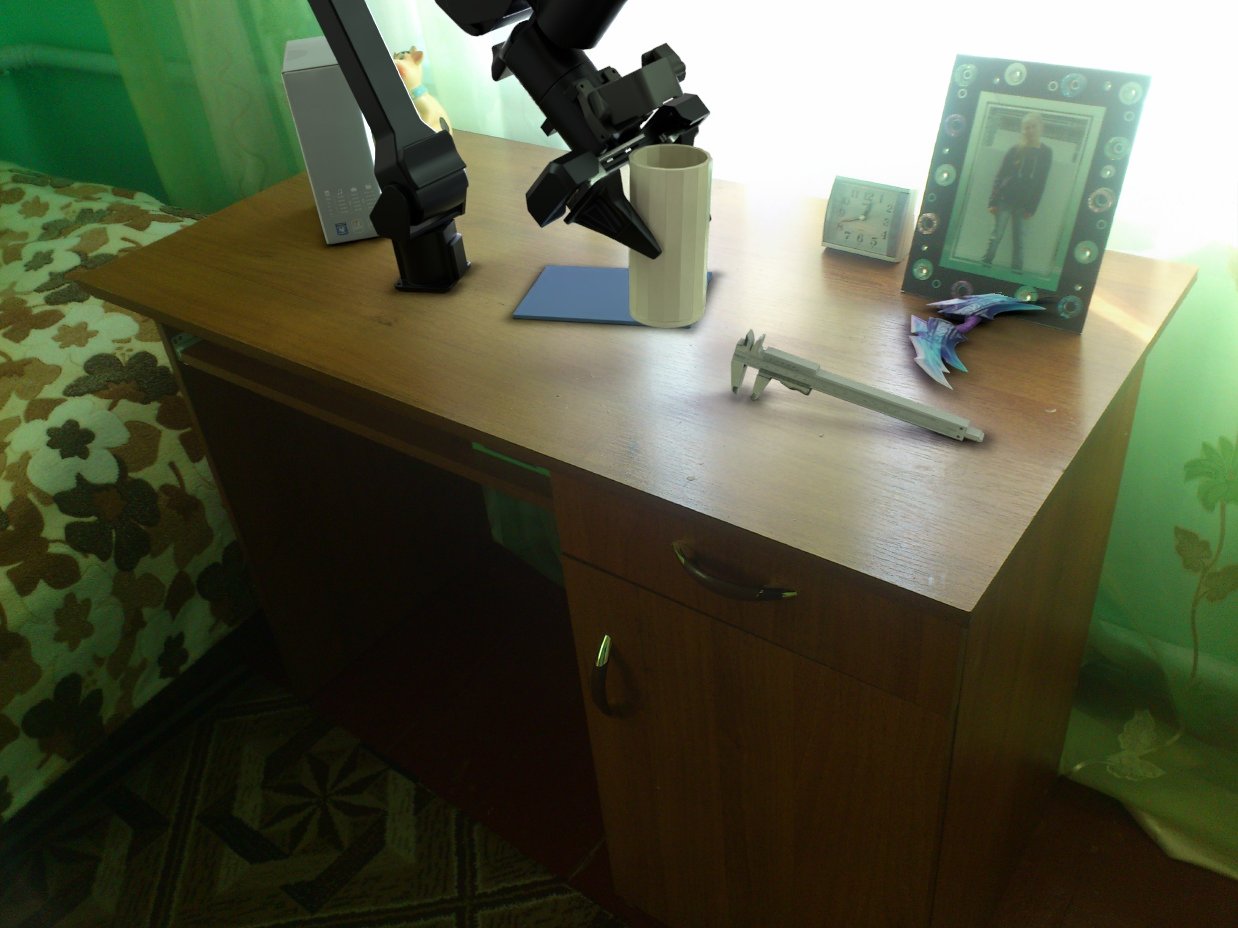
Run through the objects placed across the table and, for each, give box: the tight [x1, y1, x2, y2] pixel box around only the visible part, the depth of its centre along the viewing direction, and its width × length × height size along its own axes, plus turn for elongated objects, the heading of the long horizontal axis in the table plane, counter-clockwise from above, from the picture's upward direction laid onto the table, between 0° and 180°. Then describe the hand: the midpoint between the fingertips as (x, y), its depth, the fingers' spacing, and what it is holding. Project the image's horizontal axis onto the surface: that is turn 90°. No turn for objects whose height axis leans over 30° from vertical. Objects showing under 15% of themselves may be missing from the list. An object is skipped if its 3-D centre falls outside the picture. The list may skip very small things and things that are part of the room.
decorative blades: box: [908, 292, 1047, 391], centre depth 88 cm, size 20×1×10 cm
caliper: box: [730, 328, 985, 443], centre depth 77 cm, size 20×1×6 cm, turn 63°
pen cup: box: [628, 144, 714, 329], centre depth 81 cm, size 7×7×14 cm
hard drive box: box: [280, 35, 381, 245], centre depth 116 cm, size 16×8×20 cm, turn 14°
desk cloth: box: [512, 264, 713, 329], centre depth 99 cm, size 18×11×1 cm, turn 75°
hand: (683, 239), depth 81 cm, fingers closed on pen cup, 7 cm apart
